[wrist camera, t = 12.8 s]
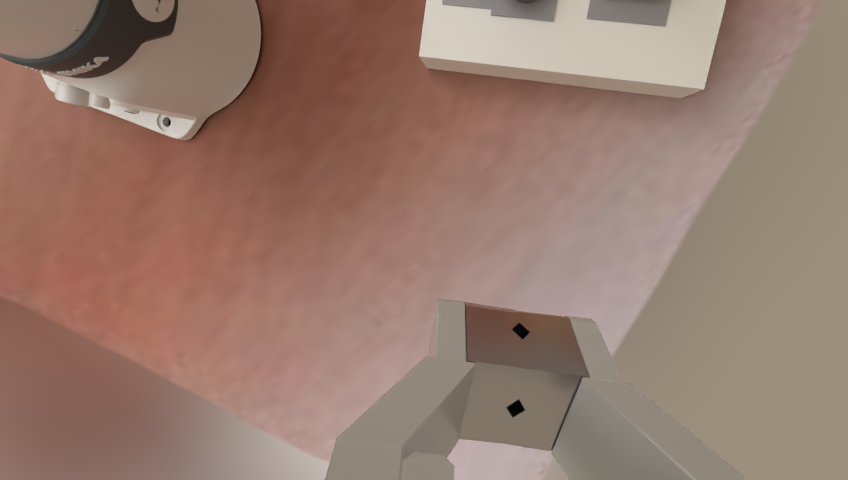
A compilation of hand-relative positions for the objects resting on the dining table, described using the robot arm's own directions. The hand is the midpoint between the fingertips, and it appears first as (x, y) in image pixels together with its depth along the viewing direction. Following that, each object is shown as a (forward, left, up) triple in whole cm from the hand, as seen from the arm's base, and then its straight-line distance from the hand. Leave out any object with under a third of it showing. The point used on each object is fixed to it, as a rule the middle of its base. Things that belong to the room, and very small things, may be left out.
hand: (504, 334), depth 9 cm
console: (+2, +16, -29) cm, 34 cm away
